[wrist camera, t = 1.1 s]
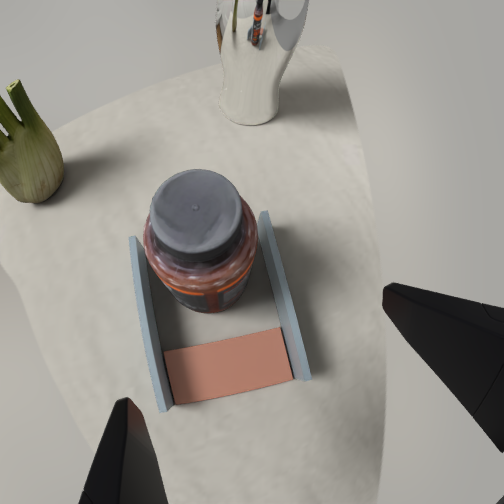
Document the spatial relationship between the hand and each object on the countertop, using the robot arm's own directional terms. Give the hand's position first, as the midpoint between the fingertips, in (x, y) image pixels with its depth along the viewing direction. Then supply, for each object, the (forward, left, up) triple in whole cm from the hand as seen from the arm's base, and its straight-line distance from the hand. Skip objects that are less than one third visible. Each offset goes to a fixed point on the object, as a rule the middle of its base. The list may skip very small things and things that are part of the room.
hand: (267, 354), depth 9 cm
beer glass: (+23, -6, -14) cm, 27 cm away
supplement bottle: (+6, +1, -14) cm, 15 cm away
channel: (+3, +1, -13) cm, 14 cm away
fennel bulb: (+18, +15, -14) cm, 27 cm away
